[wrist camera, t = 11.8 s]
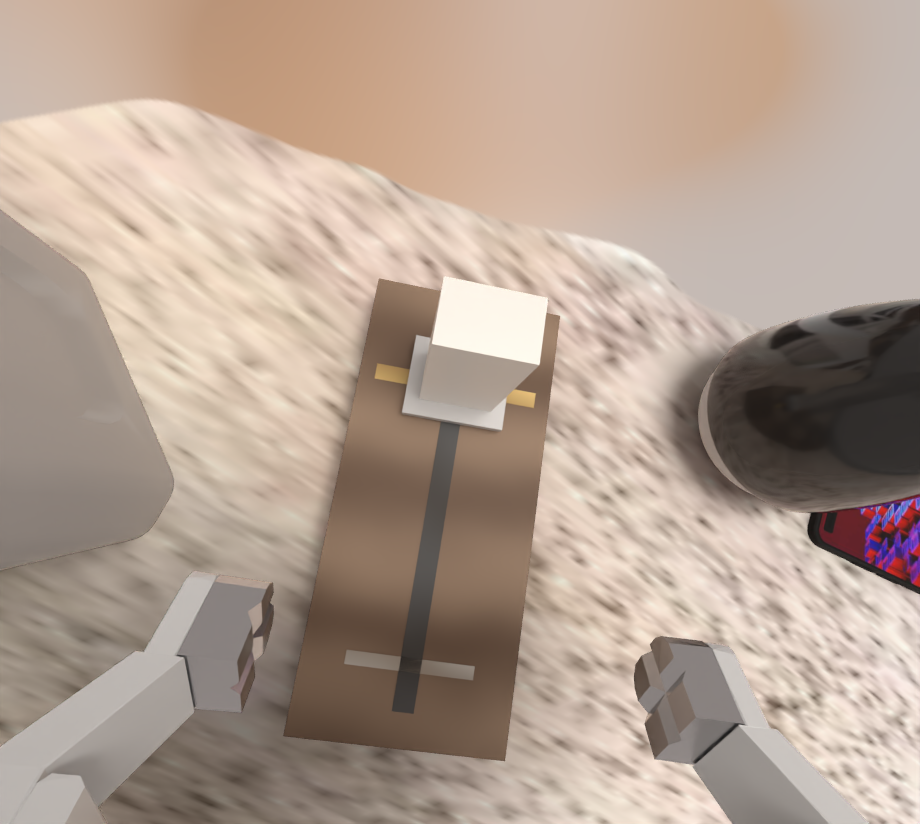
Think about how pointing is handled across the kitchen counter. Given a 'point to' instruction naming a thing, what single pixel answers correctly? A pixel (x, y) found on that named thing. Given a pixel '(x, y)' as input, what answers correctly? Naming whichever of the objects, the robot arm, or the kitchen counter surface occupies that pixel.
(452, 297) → the fader tab
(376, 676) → the board
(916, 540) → the smartphone
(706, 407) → the pump dispenser
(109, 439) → the grey box
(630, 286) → the kitchen counter surface
